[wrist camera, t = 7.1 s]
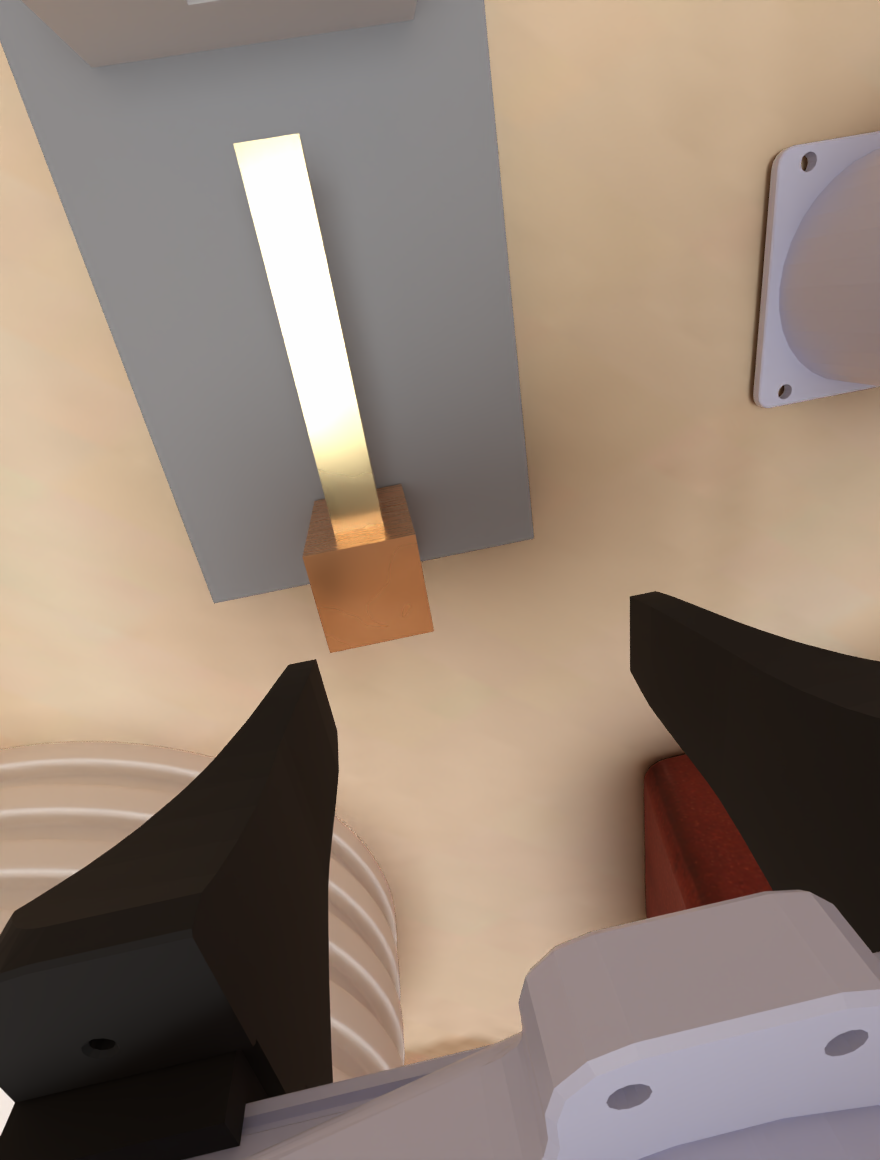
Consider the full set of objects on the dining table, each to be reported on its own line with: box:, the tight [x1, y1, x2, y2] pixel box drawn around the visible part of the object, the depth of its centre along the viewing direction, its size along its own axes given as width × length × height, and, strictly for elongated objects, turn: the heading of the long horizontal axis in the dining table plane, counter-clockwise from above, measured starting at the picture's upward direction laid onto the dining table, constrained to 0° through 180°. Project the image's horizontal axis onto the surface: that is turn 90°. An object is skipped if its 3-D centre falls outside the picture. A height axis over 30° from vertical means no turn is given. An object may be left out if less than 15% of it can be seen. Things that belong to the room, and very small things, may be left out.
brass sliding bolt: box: [234, 133, 434, 653], centre depth 16 cm, size 3×12×5 cm, turn 9°
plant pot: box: [644, 754, 773, 919], centre depth 24 cm, size 19×19×17 cm
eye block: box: [0, 0, 534, 603], centre depth 15 cm, size 12×20×7 cm, turn 9°
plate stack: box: [0, 741, 405, 1136], centre depth 24 cm, size 28×28×12 cm
